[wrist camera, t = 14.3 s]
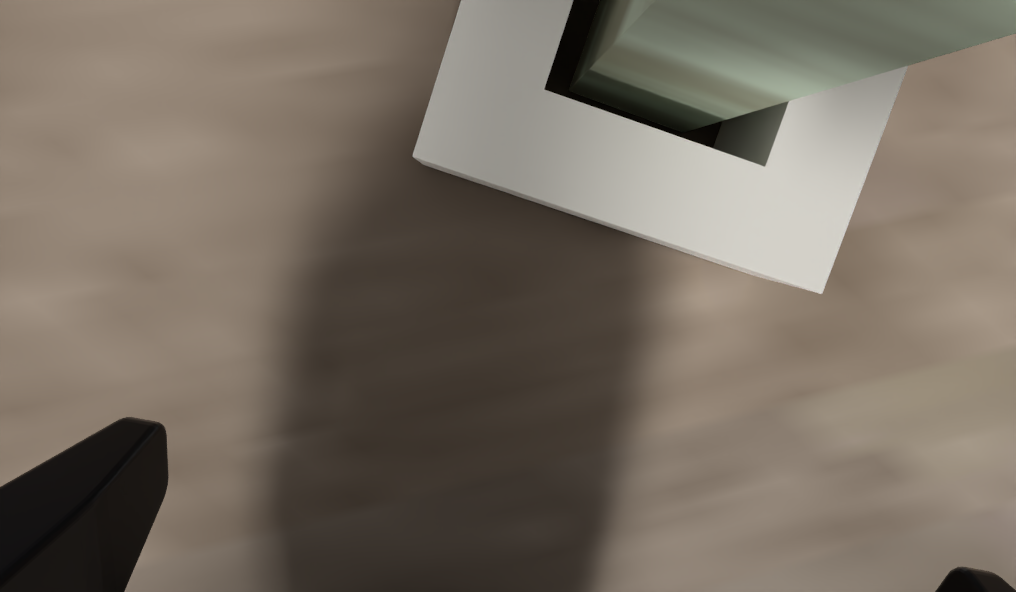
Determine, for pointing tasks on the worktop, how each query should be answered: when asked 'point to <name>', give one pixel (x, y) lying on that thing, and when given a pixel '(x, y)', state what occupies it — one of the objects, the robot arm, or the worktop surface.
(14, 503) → the robot arm
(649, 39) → the slat
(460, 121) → the white rectangular frame
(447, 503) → the worktop surface
